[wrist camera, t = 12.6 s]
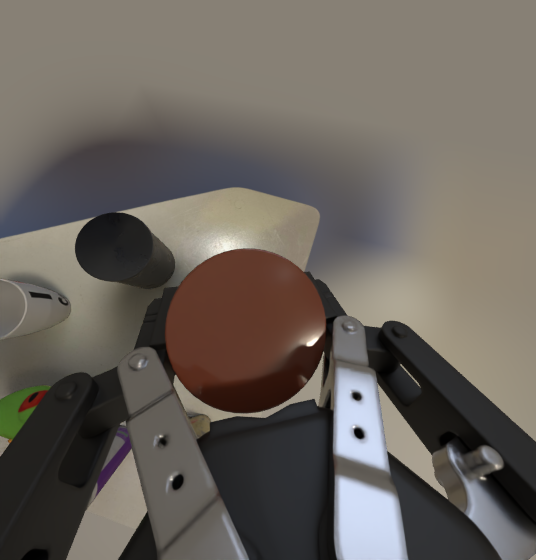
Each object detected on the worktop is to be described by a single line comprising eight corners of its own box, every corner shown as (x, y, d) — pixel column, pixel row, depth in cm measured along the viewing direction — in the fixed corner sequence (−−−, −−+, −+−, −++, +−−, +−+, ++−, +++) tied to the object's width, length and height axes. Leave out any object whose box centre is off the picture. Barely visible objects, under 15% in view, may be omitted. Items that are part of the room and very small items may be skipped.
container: (125, 460, 35) (49, 566, 21) (98, 450, 35) (1, 551, 20) (140, 431, 36) (77, 513, 22) (113, 421, 36) (31, 498, 21)
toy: (107, 361, 37) (62, 379, 27) (117, 413, 36) (75, 451, 26) (10, 390, 34) (-79, 421, 25) (18, 447, 34) (-70, 503, 24)
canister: (191, 329, 19) (125, 357, 7) (230, 272, 20) (227, 218, 9) (250, 365, 19) (276, 447, 8) (284, 307, 21) (352, 301, 9)
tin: (110, 271, 39) (57, 255, 27) (143, 230, 41) (107, 199, 29) (155, 299, 40) (122, 295, 28) (186, 258, 42) (168, 237, 30)
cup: (90, 299, 38) (41, 295, 28) (62, 341, 36) (-1, 353, 27) (46, 278, 37) (-20, 267, 28) (15, 320, 36) (-67, 324, 26)
